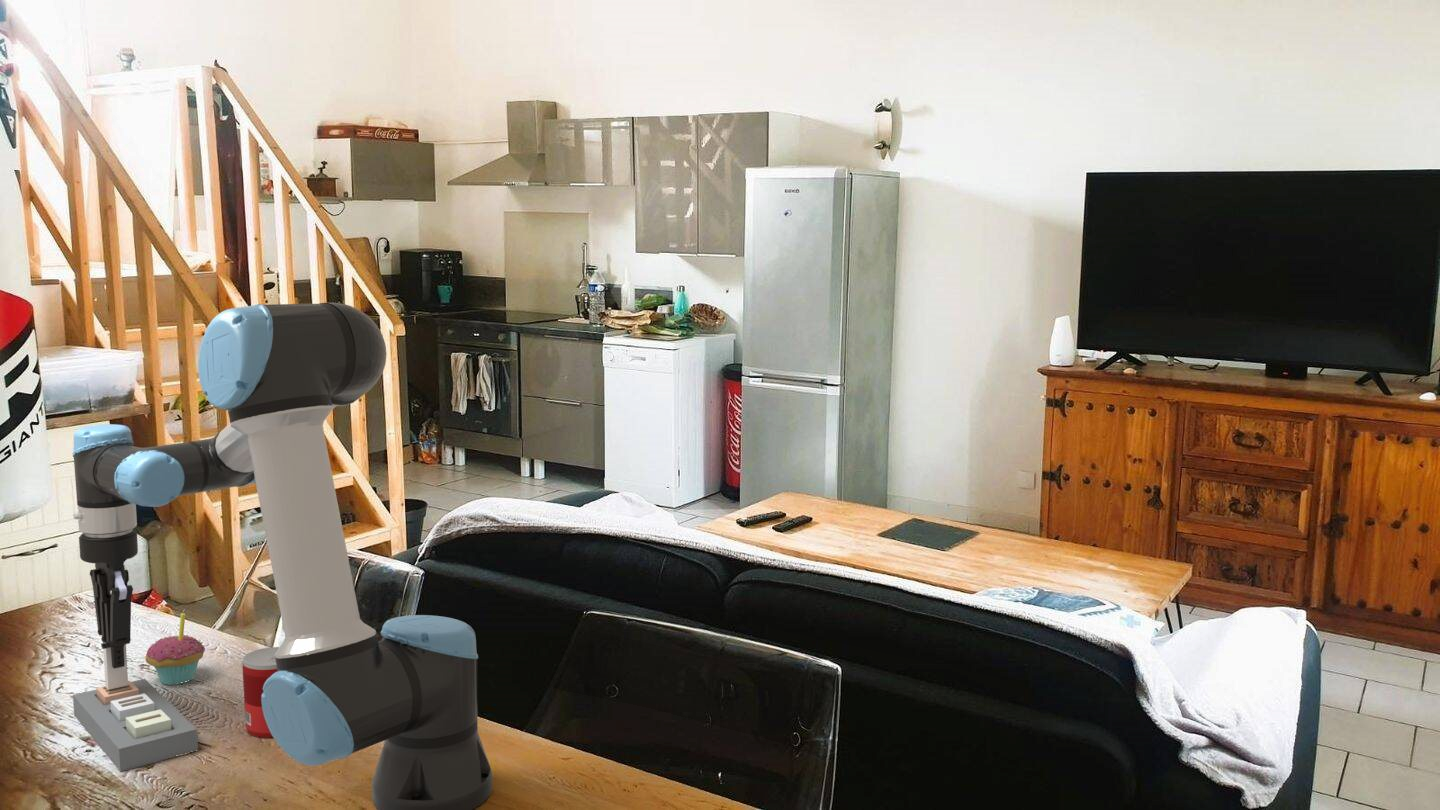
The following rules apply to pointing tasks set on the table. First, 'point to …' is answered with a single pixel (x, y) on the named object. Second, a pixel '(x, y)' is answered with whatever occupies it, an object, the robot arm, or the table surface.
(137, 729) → the tile
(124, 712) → the tile
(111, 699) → the tile
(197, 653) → the cupcake
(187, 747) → the keypad
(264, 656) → the canned food
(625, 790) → the table surface
